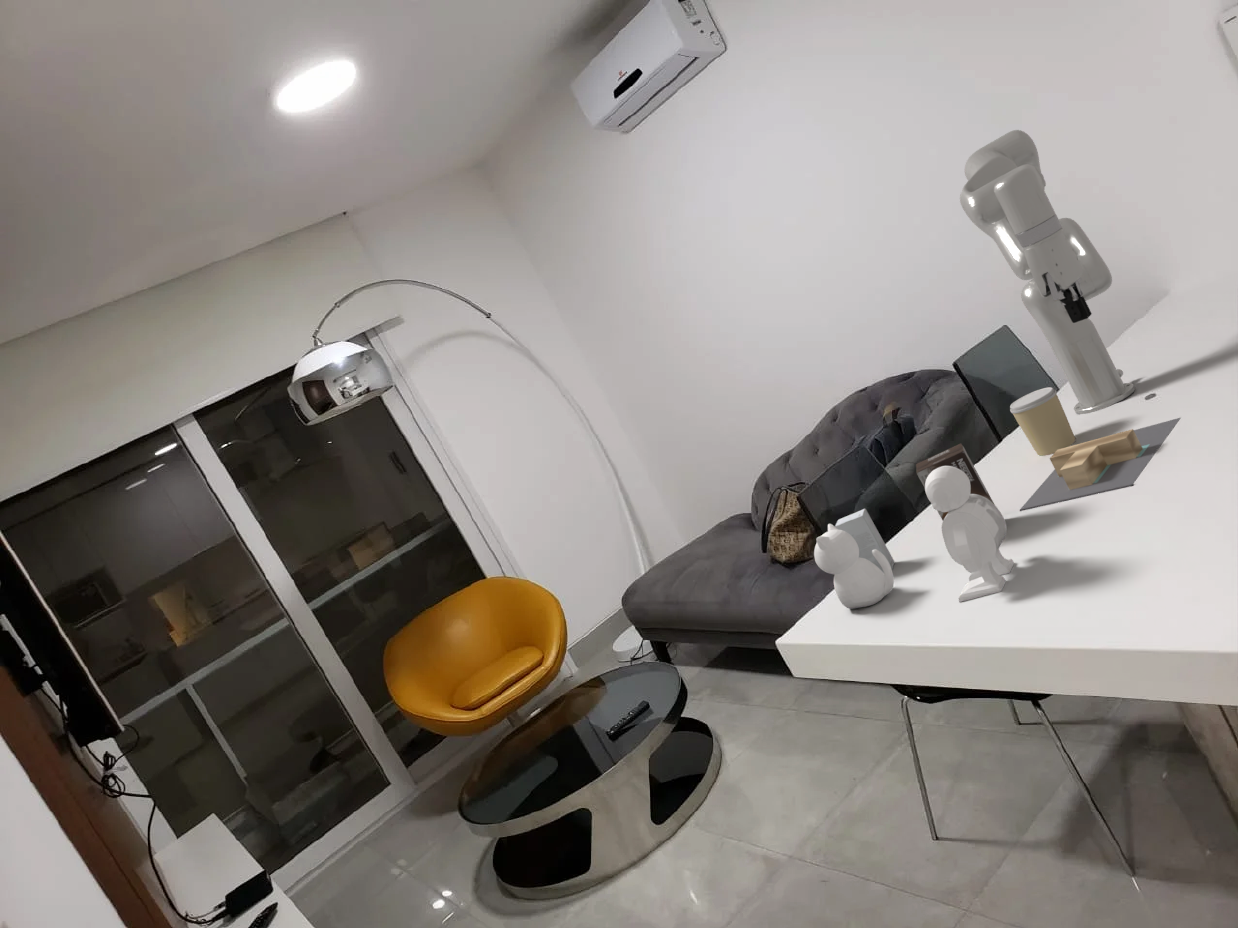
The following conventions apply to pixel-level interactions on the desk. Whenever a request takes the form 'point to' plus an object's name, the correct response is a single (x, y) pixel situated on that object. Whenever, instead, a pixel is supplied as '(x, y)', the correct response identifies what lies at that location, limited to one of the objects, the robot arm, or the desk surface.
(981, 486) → the coffee box
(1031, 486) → the desk surface
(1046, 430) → the coffee cup
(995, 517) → the white humanoid figurine
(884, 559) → the cat figurine
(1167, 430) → the rubber mat
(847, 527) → the skincare box
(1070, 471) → the pine T block
